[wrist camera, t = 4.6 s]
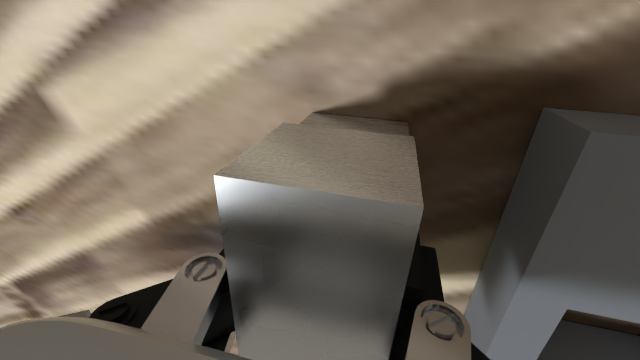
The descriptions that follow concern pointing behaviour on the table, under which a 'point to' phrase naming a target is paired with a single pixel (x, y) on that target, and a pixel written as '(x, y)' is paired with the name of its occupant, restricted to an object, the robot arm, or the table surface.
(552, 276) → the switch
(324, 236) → the grey concrete brick
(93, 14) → the table surface
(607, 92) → the table surface
